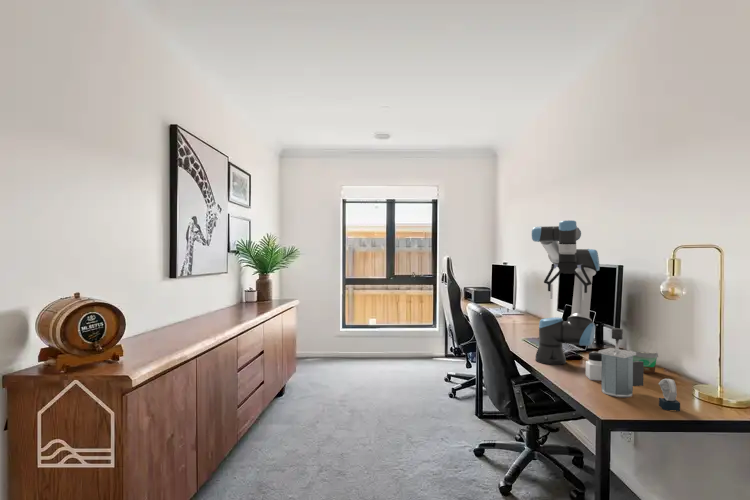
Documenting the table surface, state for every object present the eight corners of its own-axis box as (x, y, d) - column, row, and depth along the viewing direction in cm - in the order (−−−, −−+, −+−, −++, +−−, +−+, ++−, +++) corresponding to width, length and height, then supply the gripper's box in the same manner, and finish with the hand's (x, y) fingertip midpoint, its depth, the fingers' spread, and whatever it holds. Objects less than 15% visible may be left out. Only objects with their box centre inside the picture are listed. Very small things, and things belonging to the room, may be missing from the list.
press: (614, 385, 193) (615, 346, 193) (644, 392, 183) (644, 351, 183) (596, 392, 184) (596, 350, 183) (626, 400, 174) (626, 356, 174)
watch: (673, 405, 168) (673, 377, 168) (682, 413, 160) (682, 383, 160) (656, 404, 170) (657, 375, 170) (664, 411, 162) (664, 381, 162)
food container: (632, 373, 213) (633, 352, 213) (629, 369, 219) (629, 349, 219) (661, 375, 209) (662, 354, 209) (657, 371, 215) (657, 351, 215)
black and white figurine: (606, 381, 199) (606, 354, 199) (589, 380, 201) (589, 353, 201) (601, 376, 206) (601, 351, 206) (585, 375, 208) (585, 350, 208)
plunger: (611, 380, 188) (611, 326, 188) (632, 385, 181) (633, 329, 181) (601, 383, 183) (601, 328, 183) (622, 389, 176) (623, 331, 176)
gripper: (538, 253, 205) (538, 298, 205) (597, 254, 195) (597, 301, 195) (539, 253, 212) (539, 297, 212) (596, 253, 202) (596, 299, 202)
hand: (567, 299), depth 203 cm, fingers open, 13 cm apart
